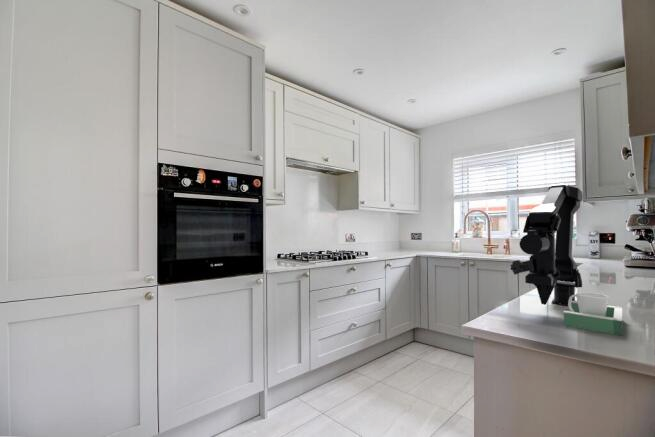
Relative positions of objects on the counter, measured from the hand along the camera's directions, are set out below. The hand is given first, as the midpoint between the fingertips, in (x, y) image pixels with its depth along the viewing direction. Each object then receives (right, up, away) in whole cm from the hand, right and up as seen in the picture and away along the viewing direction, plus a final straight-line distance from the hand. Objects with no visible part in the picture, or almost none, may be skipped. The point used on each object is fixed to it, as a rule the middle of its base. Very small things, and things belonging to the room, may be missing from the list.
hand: (543, 304), depth 96 cm
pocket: (+8, -3, -7) cm, 11 cm away
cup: (+7, -3, -8) cm, 11 cm away
